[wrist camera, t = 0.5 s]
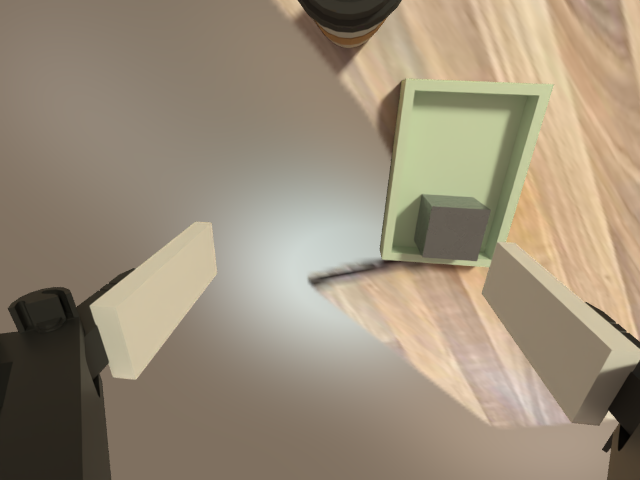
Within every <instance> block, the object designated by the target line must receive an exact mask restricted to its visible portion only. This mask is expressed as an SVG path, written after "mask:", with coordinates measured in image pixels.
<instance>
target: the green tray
mask: <svg viewBox="0 0 640 480" xmlns="http://www.w3.org/2000/svg"><path fill="white" fill-rule="evenodd" d="M553 86H554V84H531V83H506V82H480V81H454V80H429V79H405V80H403V81H401V89H400V96H399V104H398V112H397V120H396V127H395V135H394V143H393V150H392V158H391V166H390V174H389V182H388V189H387V197H386V205H385V213H384V220H383V228H382V235H381V244H380V253H381V257H382V259H383V260H396V261H410V262H424V263H437V264H451V265H465V266H478V267H490V264H491V261H492V257H493V254H494V251H495V247H496V244H497V242H506V240H507V237H508V233H509V230H510V227H511V223H512V220H513V217H514V214H515V210H516V207H517V204H518V200H519V197H520V194H521V191H522V187H523V184H524V181H525V177H526V174H527V171H528V168H529V164H530V161H531V158H532V155H533V151H534V148H535V145H536V141H537V138H538V135H539V132H540V128H541V125H542V122H543V118H544V115H545V112H546V109H547V105H548V102H549V99H550V95H551V92H552V89H553ZM422 194H429V195H445V196H462V197H474V198H475V199H476V200H478V201H479V202H481V203H482V204H483V205H485V206H486V207H488V208H489V209H490V210H491V212H490V215H489V219H488V223H487V226H486V230H485V234H484V237H483V241H482V245H481V249H480V252H479V256H478V260H477V261H466V260H452V259H438V258H424V257H422V256H421V254H420V252H419V250H418V248H417V246H416V244H415V242H414V236H415V230H416V224H417V218H418V213H419V207H420V201H421V196H422Z"/></svg>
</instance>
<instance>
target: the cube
mask: <svg viewBox="0 0 640 480" xmlns="http://www.w3.org/2000/svg"><path fill="white" fill-rule="evenodd" d="M490 212H491V210H490V209H489V208H488V207H486V206H485V205H483V204H482V203H481V202H479V201H478V200H476V199H475V198H474V197H462V196H445V195H429V194H422V196H421V201H420V207H419V213H418V218H417V224H416V230H415V236H414V242H415V244H416V246H417V248H418V250H419V252H420V254H421V256H422V257H424V258H438V259H452V260H466V261H477V260H478V256H479V252H480V249H481V245H482V241H483V237H484V234H485V230H486V226H487V223H488V219H489V215H490Z"/></svg>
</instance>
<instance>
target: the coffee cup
mask: <svg viewBox="0 0 640 480" xmlns="http://www.w3.org/2000/svg"><path fill="white" fill-rule="evenodd" d="M298 2H299V3H300V4H301V6H302V7H303V8H304V10H305V11H306V12H307V14H308V15H309V16H310V17H311V18H313V19H314V21H315V22H316V24H317V25H318V26H319V28H320V29H321V31H322V32H323V33H324V35H325V36H327V38H328V39H329V40H330V41H332V42H333V43H334V44H336V45H338V46H341V47H347V48H352V47H356V46H360V45H361V44H363V43H365V42H367V41H368V40H369V39H370V38H371V37H372V36H373V35H374V33H375V32H376V31H377V30H378V29H379V28H380V26H381V25H382V24H383V23H384V21H385V20H386V18H387V17H388V16H389V15H390V14H391V13H392V12H393V11H394V10H395V9H396V8H397V7H398V5H399V4H400V2H401V0H298Z"/></svg>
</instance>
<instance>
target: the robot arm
mask: <svg viewBox="0 0 640 480" xmlns="http://www.w3.org/2000/svg"><path fill="white" fill-rule="evenodd" d="M216 274H217V268H216V258H215V250H214V241H213V232H212V224H211V223H208V222H195V223H193V224H192V225H191V226H190V227H188V228H187V229H186V230H185V231H183V232H182V233H181V234H179V235H178V236H177V237H176V238H175V239H173V240H172V241H171V242H169V243H168V244H167V245H166V246H164V247H163V248H162V249H161V250H160V251H158V252H157V253H155V254H154V255H153V256H152V257H150V258H149V259H148V260H147V261H145V262H144V263H143V264H142V265H140V266H139V267H138V268H137V269H134V268H133V269H131V270H129V271H126V272H124V273H122V274H120V275H118V276H117V277H116V278H114V279H113V280H112V281H110V282H109V284H106V285H105V286H104V287H102V288H101V289H100V291H97V292H96V293H95V294H93V295H92V296H91V297H89V298H88V299H87V300H85V301H84V302H83V303H81V304H80V305H79V306H77V307H76V305H75V303H74V300H73V297H72V294H71V292H70V290H69V289H66V288H63V287H53V288H46V289H41V290H38V291H35V292H31V293H29V294H27V295H24V296H22V297H20V298H19V299H17V300H16V301H14V302H13V303H12V304H11V305H10V306H9V308H8V310H9V312H10V314H11V316H12V318H13V321H14V323H15V325H16V327H17V329H18V332H11V333H3V334H0V480H111V471H110V463H109V462H110V461H109V451H108V440H107V429H106V418H105V408H104V397H103V386H102V380H101V377H100V374H99V373H100V372H101V371H102V370H103V369H104V368H105V366H106V365H107V364H109V367H110V370H111V373H112V376H113V377H114V378H125V379H134V380H136V379H137V378H138V376H139V375H140V374H141V372H142V371H143V370H144V369H145V367H146V366H147V365H148V364H149V362H150V361H151V360H152V358H153V357H154V356H155V354H156V353H157V352H158V350H159V349H160V348H161V346H162V345H163V344H164V342H165V341H166V340H167V338H168V337H169V336H170V334H171V333H172V332H173V331H174V329H175V328H176V327H177V325H178V324H179V323H180V321H181V320H182V319H183V317H184V316H185V315H186V313H187V312H188V311H189V310H190V308H191V307H192V306H193V304H194V303H195V302H196V300H197V299H198V298H199V296H200V295H201V294H202V293H203V291H204V290H205V289H206V287H207V286H208V285H209V283H210V282H211V281H212V279H213V278H214V277H215V275H216ZM482 295H483V296H484V297H485V299H486V300H487V302H488V303H489V305H490V306H491V308H492V309H493V310H494V312H495V313H496V315H497V316H498V318H499V319H500V321H501V322H502V323H503V325H504V326H505V328H506V329H507V331H508V332H509V333H510V335H511V336H512V338H513V339H514V341H515V342H516V344H517V345H518V346H519V348H520V349H521V351H522V352H523V354H524V355H525V357H526V358H527V359H528V361H529V362H530V364H531V365H532V367H533V368H534V369H535V371H536V372H537V374H538V375H539V377H540V378H541V380H542V381H543V382H544V384H545V385H546V387H547V388H548V390H549V391H550V393H551V394H552V395H553V397H554V398H555V400H556V401H557V403H558V404H559V406H560V407H561V408H562V410H563V411H564V413H565V414H566V416H567V417H568V418H569V420H570V421H571V423H578V424H588V425H598V426H599V425H600V423H601V422H602V420H603V419H604V417H605V416H606V414H607V412H608V411H610V413H611V414H612V415H613V416H614V417H615V418H616V420H617V421H618V422H619V424H618V426H617V428H616V429H615V430H614V432H613V433H612V435H611V436H610V438H609V440H608V441H607V443H606V444H605V446H604V447H603V449H602V450H603V451H605V452H608V451H609V449H610V448H611V454H610V462H609V469H608V477H607V480H640V342H639V341H638V340H637V339H636V338H634V337H633V336H632V335H631V334H630V333H626V330H625V329H624V328H622V327H621V326H620V325H619V324H616V322H615V321H614V320H613V319H611V318H610V317H609V316H608V315H607V314H605V313H604V312H603V311H601V310H599V309H598V308H596V307H594V306H592V305H590V304H589V303H587V302H584V301H583V300H581V299H580V298H579V297H578V296H577V295H576V294H574V293H573V292H572V291H571V290H570V289H569V288H567V287H566V286H565V285H564V284H563V283H562V282H560V281H559V280H558V279H557V278H556V277H554V276H553V275H552V274H551V273H550V272H549V271H547V270H546V269H545V268H544V267H543V266H542V265H540V264H539V263H538V262H537V261H536V260H534V259H533V258H532V257H531V256H530V255H529V254H527V253H526V252H525V251H524V250H523V249H522V248H520V247H519V246H518V245H517V244H516V243H510V242H497V244H496V247H495V251H494V254H493V257H492V261H491V264H490V267H489V271H488V274H487V277H486V281H485V284H484V287H483V291H482Z"/></svg>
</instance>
